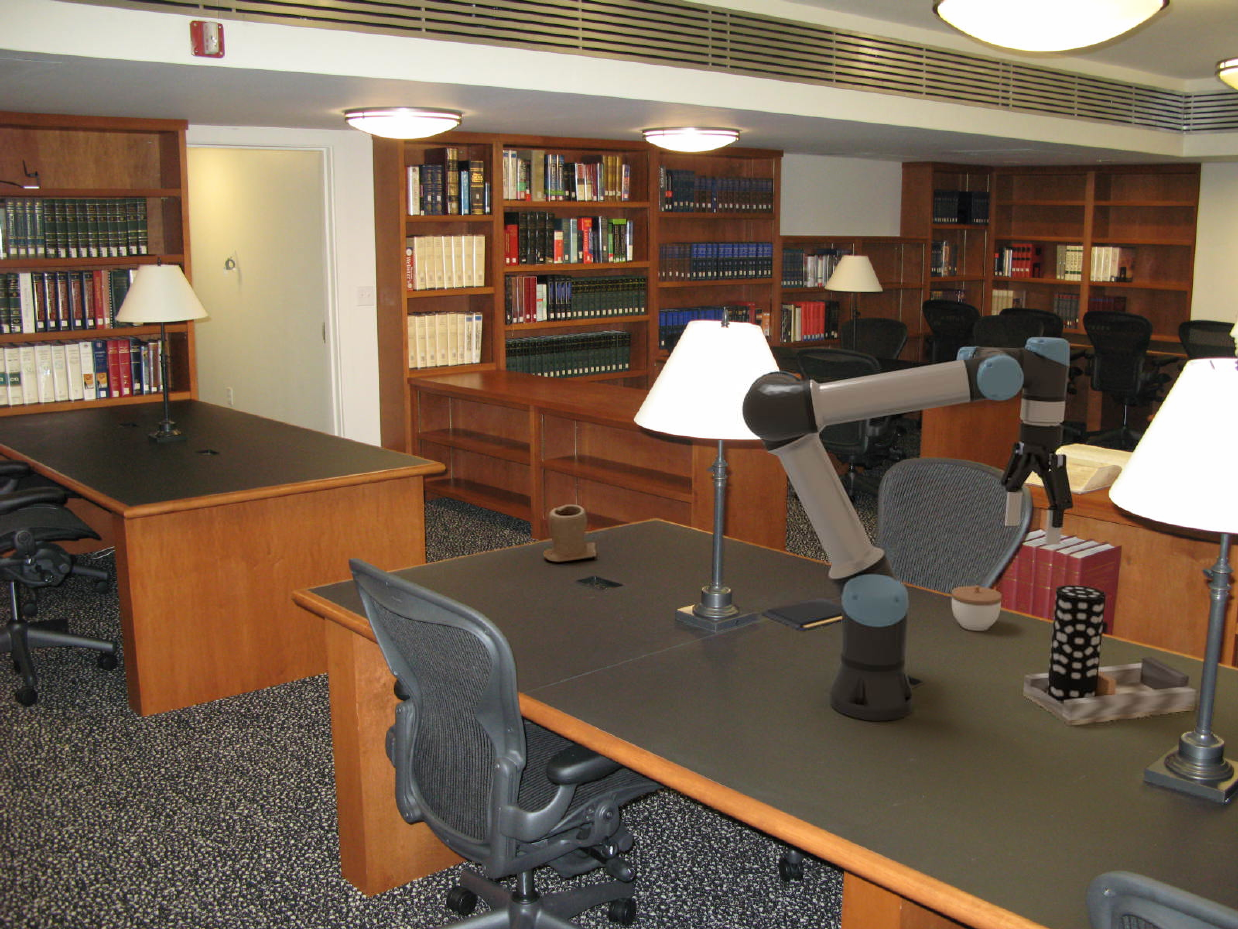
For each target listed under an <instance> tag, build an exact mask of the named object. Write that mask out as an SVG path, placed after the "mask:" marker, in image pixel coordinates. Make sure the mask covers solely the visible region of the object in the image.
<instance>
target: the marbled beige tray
mask: <svg viewBox="0 0 1238 929" xmlns="http://www.w3.org/2000/svg"><path fill="white" fill-rule="evenodd" d="M1099 671H1100V672H1102V673H1104V674H1106V675H1107V676H1109V677H1111V678H1113V679H1114V680H1116V687H1115V694H1114V695H1105V696H1096V697H1087V698H1079V699H1070V700H1064V703H1063V702H1059V701H1057V700H1056V699H1054V698H1053V697H1051V696H1049V695H1048V694H1047V688H1048V677H1049V672H1045V673H1031V674H1025V675H1024V678H1023V679H1024V680H1023V692H1022V693H1023V696H1024V697H1025V696H1026V697H1025V698H1027V699H1028V698H1029V700H1030V699H1031V700H1032V702H1033V703H1034V702H1036V703H1037V704H1038V705H1037V704H1036V703H1035V704H1036V705H1037V706H1039V705H1040V706H1042V707H1043V708H1045V709H1046V710H1047V711H1046V710H1045V709H1044V710H1045V711H1046V712H1048V711H1049V712H1051V713H1052V714H1053V716H1054V715H1055V716H1056V717H1055V716H1054V717H1055V718H1056V719H1058V718H1059V719H1058V720H1060V719H1061V720H1062V721H1061V720H1060V721H1061V722H1063V723H1064V722H1065V723H1064V724H1066V725H1067V724H1068V725H1067V726H1078V725H1086V724H1095V723H1094V722H1096V723H1103V722H1111V721H1110V720H1113V721H1118V720H1117V719H1122V720H1127V719H1128V720H1129V719H1138V718H1137V717H1139V718H1146V717H1145V716H1147V717H1151V716H1150V715H1156V716H1159V715H1158V714H1162V713H1167V712H1179V711H1187V710H1192V709H1193V710H1194V711H1195V705H1196V704H1195V703H1196V693H1197V690H1196V689H1194V688H1192V687H1190V686H1189V683H1190V682H1189V681H1190V676H1189V675H1188V674H1186V673H1184V672H1182V671H1180V670H1179V669H1177V668H1174V667H1172V666H1170V665H1168V664H1166V663H1164V662H1162V661H1160V660H1158V659H1157V658H1155V657H1153V656H1146V657H1145V656H1144V657H1142V659H1141V662H1138V663H1130V664H1129V663H1128V664H1120V665H1109V666H1099ZM1031 700H1030V701H1031ZM1040 706H1039V707H1040ZM1042 707H1041V708H1042ZM1043 708H1042V709H1043ZM1049 712H1048V713H1049ZM1051 713H1050V714H1051ZM1052 714H1051V715H1052Z"/></svg>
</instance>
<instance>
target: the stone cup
mask: <svg viewBox="0 0 1238 929" xmlns="http://www.w3.org/2000/svg"><path fill="white" fill-rule="evenodd" d="M586 513H587V512H586V510H585V508H583V507H582V506H581V505H577V504H564V505H562V506H559V507H555V508H553V509H552V510H551V511H550V512H549V515H548V521H547V522H548V523H547V525H548V530H549V535H550V537H551V539H552V544H553V547H552V548H547V549H545V550H544V551H543V557H544V558H545V559H547V560H548V561H552V562H556V563H557V562H558V563H559V562H569V561H576V560H582V559H589V558H594V557H595V558H596V556H597V551H596V547H595V546H596V543H595V542H592V541H591V542H585V541H584V540H585V536H586V535H585V534H586V530H587V524H588V517H587V514H586Z"/></svg>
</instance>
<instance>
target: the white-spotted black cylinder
mask: <svg viewBox="0 0 1238 929" xmlns="http://www.w3.org/2000/svg"><path fill="white" fill-rule="evenodd" d="M1055 590H1056V591H1055V601H1054V610H1053V624H1052V632H1051V633H1052V635H1051V646H1050V654H1049V669H1048V673H1049V677H1048V688H1047V694H1048V695H1049V696H1051V697H1053V698H1054V699H1056V700H1057V701H1059V702H1063V703H1064V700H1070V699H1079V698H1087V697H1096V690H1097V680H1098V670H1099V667H1100V659H1101V658H1100V656H1101V648H1102V637H1103V627H1104V618H1105V609H1106V608H1105V606H1106V597H1107V595H1106V593H1105V592H1104V591H1102V590H1100V589H1097V588H1093V587H1090V586H1084V585H1075V584H1074V585H1071V584H1069V585H1061V586H1058V587H1056V589H1055Z"/></svg>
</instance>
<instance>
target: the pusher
mask: <svg viewBox="0 0 1238 929" xmlns="http://www.w3.org/2000/svg"><path fill="white" fill-rule="evenodd" d="M1115 687H1116V680H1114V679H1113V678H1111V677H1109V676H1107V675H1106V674H1104V673H1102V672H1100V671H1099V670H1098V680H1097V690H1096V696H1105V695H1114V694H1115Z"/></svg>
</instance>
